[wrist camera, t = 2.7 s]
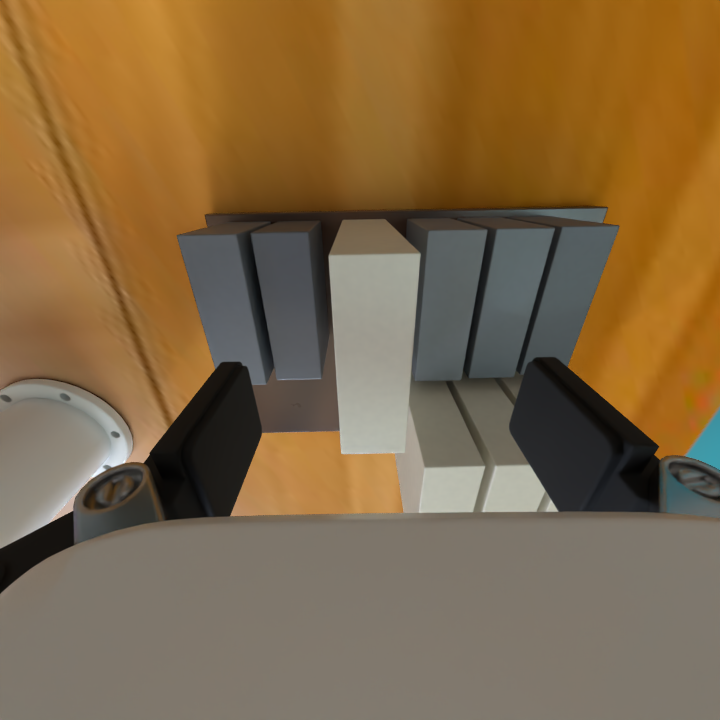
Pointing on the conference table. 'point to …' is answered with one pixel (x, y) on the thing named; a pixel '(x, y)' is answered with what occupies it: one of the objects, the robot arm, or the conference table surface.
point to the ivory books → (466, 450)
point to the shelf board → (319, 396)
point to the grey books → (434, 299)
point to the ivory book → (373, 333)
